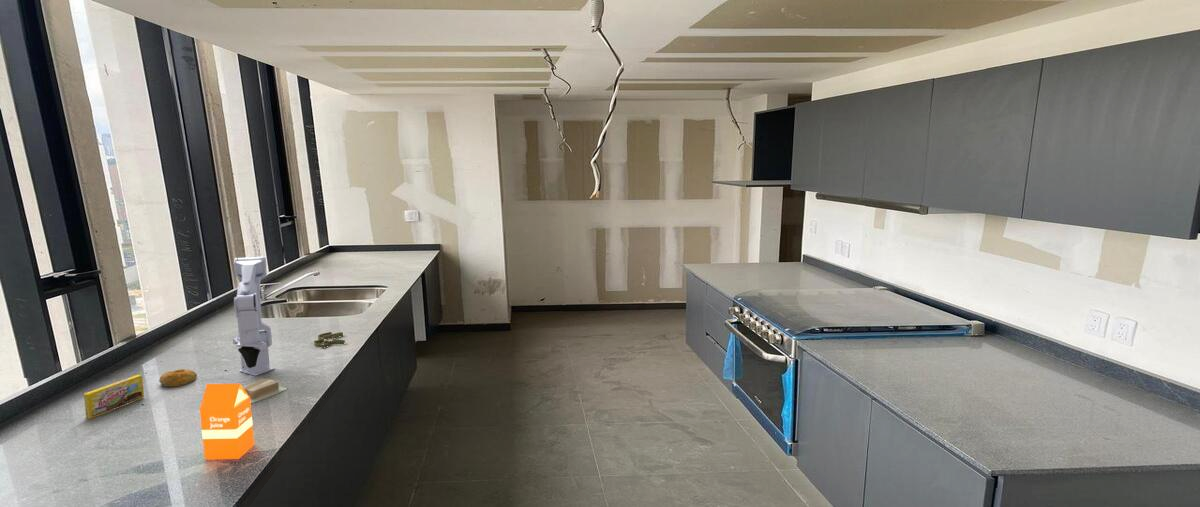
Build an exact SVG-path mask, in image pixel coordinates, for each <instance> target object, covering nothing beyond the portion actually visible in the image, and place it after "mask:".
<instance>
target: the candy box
mask: <svg viewBox="0 0 1200 507" xmlns="http://www.w3.org/2000/svg"><path fill="white" fill-rule="evenodd" d="M143 385H144V382H143V375H142V374H135V375H133V376H131V377H127V378H124V379H121V380H119V381H115V382H113V383H110V384H107V385H103V386H102V387H100V388H96V389H94V390H91V391H88V392H84V393H83V400H84V412H85V419H86V418H92V419H93V417H94V418H96V416H97V417H99V416H102V415H104V414H106V413H105V412H107V411H109V412H111V411H110V410H112V409H114V408H117V407H119V408H121V407H120V406H122V405H124V406H126V405H125V404H127V403H129V404H131V403H130V402H132V401H134V402H136V401H135V400H137V401H138V399H139V400H141V399H140V398H142V399H144V398H145V395H144V392H145V391H144V386H143ZM143 397H144V398H143ZM132 403H133V402H132ZM127 405H128V404H127ZM122 407H123V406H122ZM117 409H118V408H117ZM114 410H115V409H114ZM112 411H113V410H112ZM103 413H104V414H103ZM107 413H108V412H107ZM101 414H102V415H101ZM98 415H99V416H98Z"/></svg>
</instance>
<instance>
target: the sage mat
mask: <svg viewBox="0 0 1200 507" xmlns="http://www.w3.org/2000/svg"><path fill="white" fill-rule="evenodd" d="M278 386H279V385H278ZM287 390H288V388H286V387H283V386H279V390H277V391H275V392H272V393H270V394H267V395H264V396H262V397H259V398H257V399H254V400H252V399H250V403H251V405H252V404H254V403H257V402H259V401H263V400H265V399H267V398H269V397H272V396H275V395H277V394H279V393H282V392H285V391H287ZM274 394H275V395H274Z"/></svg>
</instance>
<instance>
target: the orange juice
mask: <svg viewBox="0 0 1200 507" xmlns="http://www.w3.org/2000/svg"><path fill="white" fill-rule="evenodd" d="M205 386H206V387H205V390H204V393H203V397H202V399H201V403H200V406H199V413H200V414H199V415H200V416H199V417H200V426H201V436H202V443H203V453H204V460H205V459H206V460H207V459H208V460H238V459H240V458H242V456H244V455H245V454H246V453H247V452H248V451H249V450H250V449H252V448H253V446H255V440H254V439H255V438H254V427H253V425H254V424H253V423H254V422H253V416H252V404H251V403H250V397H249V395H248V394H247V393H246V391H245V390H244V389H243V387H242V384H241V383H206V385H205Z"/></svg>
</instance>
